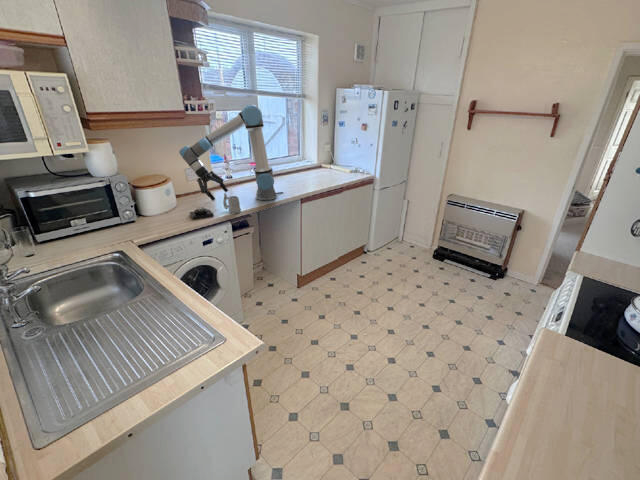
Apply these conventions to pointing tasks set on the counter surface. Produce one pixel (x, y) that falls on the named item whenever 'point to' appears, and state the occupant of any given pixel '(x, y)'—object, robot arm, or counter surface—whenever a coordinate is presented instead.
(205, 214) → the hob panel
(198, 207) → the hob knob
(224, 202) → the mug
